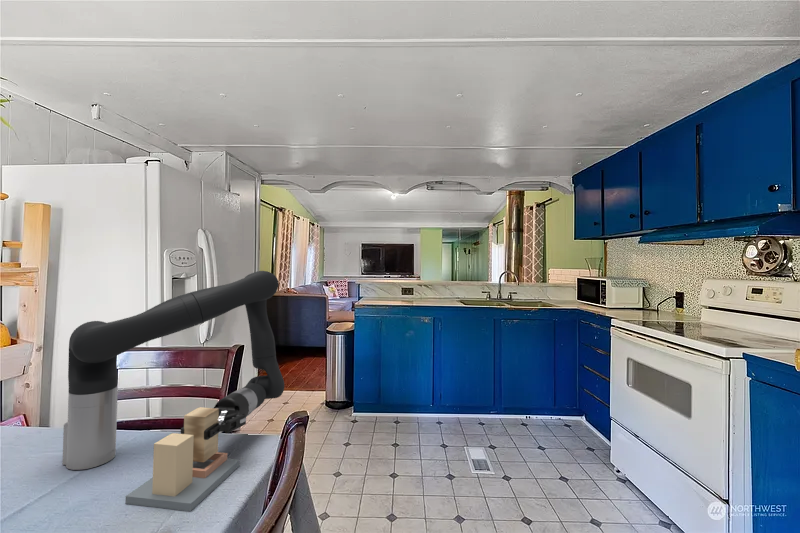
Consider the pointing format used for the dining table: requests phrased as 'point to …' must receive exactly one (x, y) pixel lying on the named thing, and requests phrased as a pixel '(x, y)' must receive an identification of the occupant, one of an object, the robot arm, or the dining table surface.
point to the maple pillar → (202, 432)
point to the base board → (186, 494)
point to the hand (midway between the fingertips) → (194, 434)
